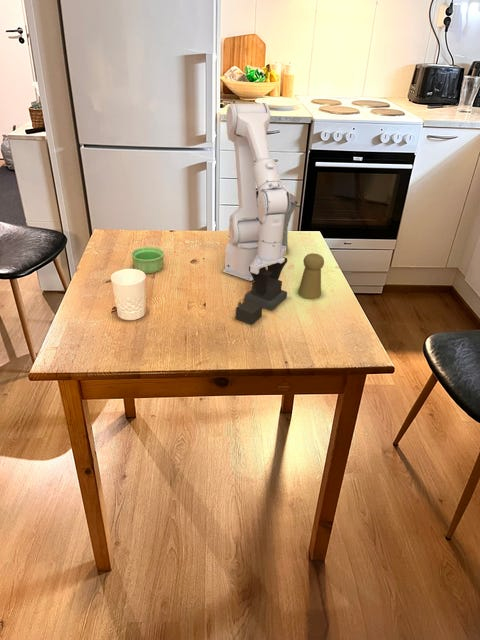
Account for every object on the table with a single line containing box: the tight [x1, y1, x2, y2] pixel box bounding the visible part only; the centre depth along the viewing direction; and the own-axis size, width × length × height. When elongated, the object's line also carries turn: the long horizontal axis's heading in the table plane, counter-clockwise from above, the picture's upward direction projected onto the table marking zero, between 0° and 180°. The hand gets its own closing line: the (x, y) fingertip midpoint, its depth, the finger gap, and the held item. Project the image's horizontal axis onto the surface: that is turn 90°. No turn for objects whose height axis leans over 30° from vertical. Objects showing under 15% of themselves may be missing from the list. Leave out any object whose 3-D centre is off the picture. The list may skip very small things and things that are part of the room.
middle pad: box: [251, 277, 283, 301], centre depth 126 cm, size 6×6×3 cm
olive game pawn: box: [298, 252, 325, 300], centre depth 129 cm, size 6×6×11 cm
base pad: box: [243, 289, 288, 312], centre depth 128 cm, size 8×8×2 cm
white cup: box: [110, 268, 147, 321], centre depth 117 cm, size 8×8×10 cm
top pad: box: [235, 299, 263, 326], centre depth 120 cm, size 5×5×3 cm
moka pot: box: [256, 189, 300, 252], centre depth 149 cm, size 10×15×20 cm, turn 58°
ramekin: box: [131, 246, 165, 274], centre depth 140 cm, size 9×9×4 cm
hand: (266, 288), depth 126 cm, fingers closed on middle pad, 5 cm apart
